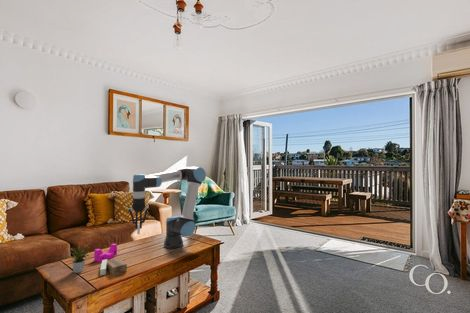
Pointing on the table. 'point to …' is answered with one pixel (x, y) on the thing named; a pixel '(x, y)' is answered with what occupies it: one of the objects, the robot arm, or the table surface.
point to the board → (103, 267)
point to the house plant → (78, 259)
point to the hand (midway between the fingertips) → (138, 233)
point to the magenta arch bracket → (103, 256)
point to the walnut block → (116, 266)
